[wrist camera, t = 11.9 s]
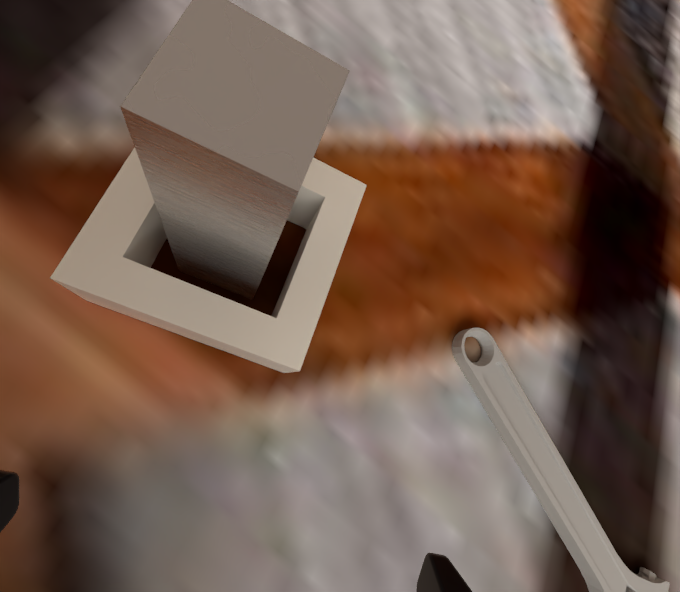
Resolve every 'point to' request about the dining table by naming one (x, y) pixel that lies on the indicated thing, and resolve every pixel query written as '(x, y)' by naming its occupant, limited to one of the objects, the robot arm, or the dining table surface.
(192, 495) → the dining table surface
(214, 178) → the steel peg
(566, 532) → the adjustable wrench
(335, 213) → the socket block
